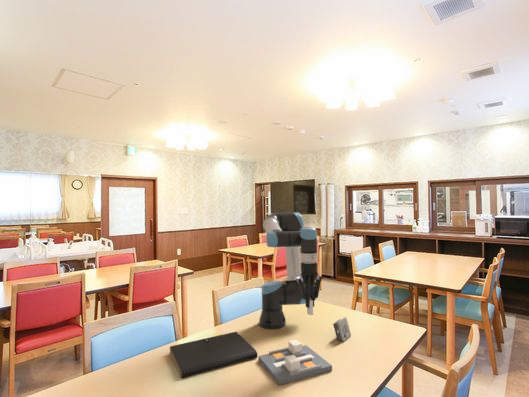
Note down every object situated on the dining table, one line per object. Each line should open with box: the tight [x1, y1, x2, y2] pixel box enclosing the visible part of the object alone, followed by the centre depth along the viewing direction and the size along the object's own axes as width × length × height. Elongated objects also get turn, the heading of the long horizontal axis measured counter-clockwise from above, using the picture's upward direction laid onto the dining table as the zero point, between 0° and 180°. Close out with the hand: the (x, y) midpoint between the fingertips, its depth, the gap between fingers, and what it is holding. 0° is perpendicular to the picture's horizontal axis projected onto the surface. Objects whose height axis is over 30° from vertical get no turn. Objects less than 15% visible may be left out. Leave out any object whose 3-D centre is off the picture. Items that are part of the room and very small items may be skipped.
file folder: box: [169, 331, 258, 379], centre depth 137 cm, size 33×4×24 cm
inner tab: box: [288, 339, 303, 354], centre depth 134 cm, size 5×4×4 cm
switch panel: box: [257, 344, 333, 386], centre depth 127 cm, size 20×24×3 cm
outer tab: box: [285, 355, 300, 372], centre depth 120 cm, size 5×4×4 cm
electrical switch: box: [332, 317, 352, 343], centre depth 153 cm, size 9×5×9 cm, turn 141°
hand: (310, 314), depth 138 cm, fingers closed
